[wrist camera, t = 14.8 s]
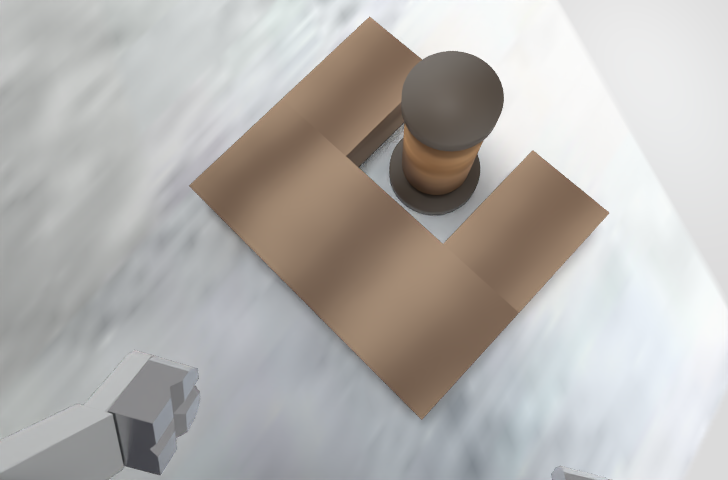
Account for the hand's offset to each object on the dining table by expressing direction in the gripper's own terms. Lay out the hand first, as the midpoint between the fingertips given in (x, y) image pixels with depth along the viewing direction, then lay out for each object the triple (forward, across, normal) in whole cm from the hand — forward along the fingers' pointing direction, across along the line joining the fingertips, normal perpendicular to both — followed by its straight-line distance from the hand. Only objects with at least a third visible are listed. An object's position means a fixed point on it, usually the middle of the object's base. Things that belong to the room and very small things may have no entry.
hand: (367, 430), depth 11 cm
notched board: (+18, +2, +5) cm, 19 cm away
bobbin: (+20, 0, +2) cm, 20 cm away
